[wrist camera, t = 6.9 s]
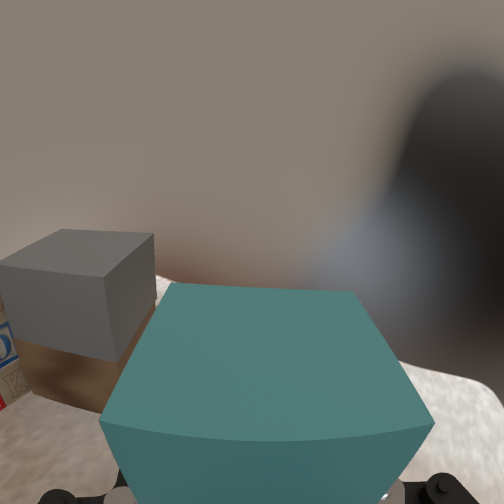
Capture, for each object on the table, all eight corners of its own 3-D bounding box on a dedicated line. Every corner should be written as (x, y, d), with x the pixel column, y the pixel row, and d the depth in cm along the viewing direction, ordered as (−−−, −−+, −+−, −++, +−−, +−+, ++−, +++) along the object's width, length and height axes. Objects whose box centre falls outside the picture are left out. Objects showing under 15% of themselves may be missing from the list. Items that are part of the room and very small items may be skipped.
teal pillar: (184, 573, 7) (99, 420, 4) (194, 493, 12) (171, 282, 8) (300, 576, 7) (435, 423, 4) (292, 496, 12) (352, 291, 8)
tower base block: (34, 395, 16) (11, 338, 15) (77, 338, 24) (66, 288, 22) (131, 421, 16) (116, 362, 15) (160, 352, 24) (154, 298, 22)
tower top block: (13, 337, 15) (-6, 264, 13) (69, 288, 22) (61, 229, 21) (117, 362, 15) (103, 277, 13) (156, 298, 22) (153, 233, 21)
